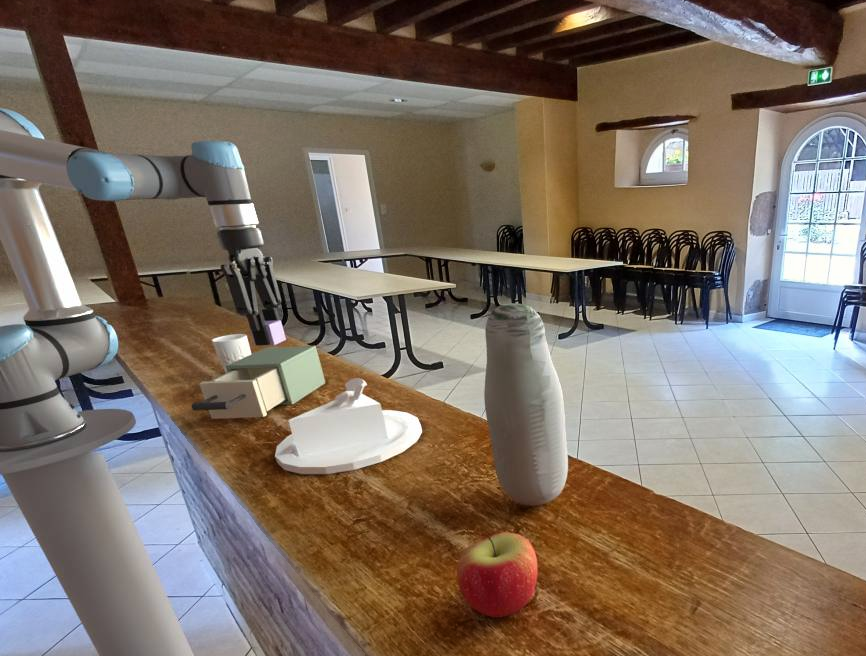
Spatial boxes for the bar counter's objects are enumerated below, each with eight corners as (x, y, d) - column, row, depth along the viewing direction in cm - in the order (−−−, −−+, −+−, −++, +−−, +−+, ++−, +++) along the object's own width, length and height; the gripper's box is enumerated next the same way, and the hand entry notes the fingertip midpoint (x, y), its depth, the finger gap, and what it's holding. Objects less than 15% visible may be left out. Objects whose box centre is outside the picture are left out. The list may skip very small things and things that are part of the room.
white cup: (221, 374, 149) (209, 338, 145) (253, 367, 154) (243, 332, 150) (227, 380, 143) (214, 343, 139) (260, 373, 148) (249, 336, 144)
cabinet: (292, 404, 123) (280, 363, 119) (238, 406, 124) (225, 365, 120) (325, 383, 137) (315, 345, 133) (277, 384, 137) (265, 347, 134)
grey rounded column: (584, 495, 80) (569, 301, 69) (528, 526, 73) (501, 317, 62) (541, 474, 86) (521, 294, 75) (486, 501, 80) (456, 308, 69)
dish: (386, 407, 118) (375, 356, 114) (445, 437, 101) (435, 379, 97) (260, 446, 103) (241, 389, 98) (305, 490, 86) (285, 423, 82)
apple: (457, 637, 55) (441, 556, 52) (471, 582, 63) (457, 507, 59) (539, 630, 56) (529, 549, 52) (543, 576, 64) (534, 501, 60)
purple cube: (254, 345, 117) (248, 325, 116) (266, 340, 121) (261, 320, 120) (274, 345, 117) (268, 324, 115) (286, 339, 121) (280, 320, 119)
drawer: (244, 429, 109) (231, 392, 106) (189, 431, 109) (175, 394, 106) (299, 394, 127) (290, 361, 124) (252, 396, 128) (241, 363, 125)
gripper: (247, 225, 118) (276, 332, 127) (188, 232, 102) (227, 353, 111) (280, 224, 118) (308, 331, 127) (227, 230, 102) (262, 352, 111)
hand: (270, 341), depth 119 cm, fingers closed on purple cube, 4 cm apart
